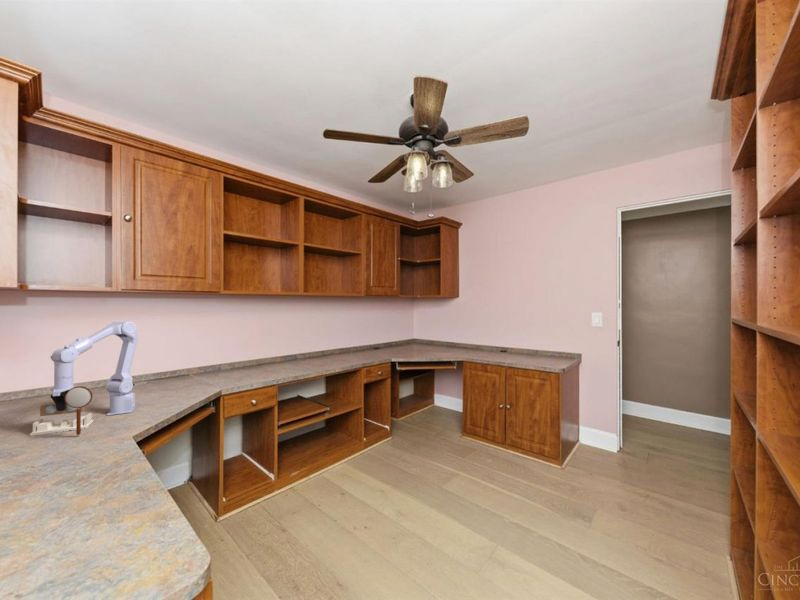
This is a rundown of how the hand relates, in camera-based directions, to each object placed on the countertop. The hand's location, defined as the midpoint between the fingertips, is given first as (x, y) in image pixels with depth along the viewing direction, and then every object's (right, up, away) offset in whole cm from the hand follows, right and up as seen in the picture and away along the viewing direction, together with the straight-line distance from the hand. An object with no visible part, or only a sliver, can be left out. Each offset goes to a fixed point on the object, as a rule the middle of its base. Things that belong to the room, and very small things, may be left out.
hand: (63, 409), depth 142 cm
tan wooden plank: (0, -2, 0) cm, 2 cm away
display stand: (0, -8, 0) cm, 8 cm away
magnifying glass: (+14, -8, -8) cm, 19 cm away
